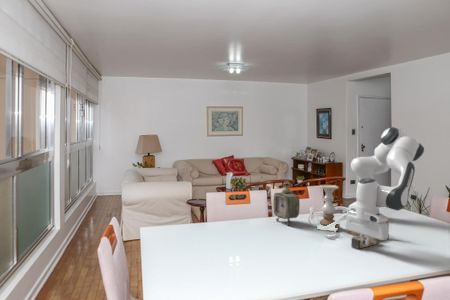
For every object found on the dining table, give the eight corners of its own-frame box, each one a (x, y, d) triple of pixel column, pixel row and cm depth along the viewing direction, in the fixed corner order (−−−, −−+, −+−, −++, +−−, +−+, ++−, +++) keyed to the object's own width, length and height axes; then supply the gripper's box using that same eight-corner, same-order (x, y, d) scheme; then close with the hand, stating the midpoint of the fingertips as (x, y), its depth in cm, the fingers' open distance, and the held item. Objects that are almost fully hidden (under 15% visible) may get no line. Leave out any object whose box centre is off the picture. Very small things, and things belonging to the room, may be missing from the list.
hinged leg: (372, 241, 161) (372, 233, 160) (379, 243, 157) (379, 235, 157) (351, 246, 153) (351, 238, 153) (358, 249, 150) (358, 240, 149)
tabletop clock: (273, 220, 199) (273, 179, 197) (285, 219, 202) (286, 178, 201) (287, 226, 186) (288, 183, 184) (300, 225, 189) (301, 182, 188)
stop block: (352, 244, 157) (352, 237, 157) (359, 242, 159) (359, 235, 159) (356, 246, 155) (357, 238, 154) (363, 244, 157) (363, 237, 157)
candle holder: (316, 229, 181) (317, 186, 180) (320, 224, 191) (321, 183, 190) (336, 232, 176) (337, 188, 175) (339, 227, 186) (341, 185, 185)
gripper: (342, 210, 157) (342, 239, 157) (382, 220, 139) (381, 252, 140) (351, 209, 160) (350, 237, 161) (391, 218, 143) (390, 249, 143)
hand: (365, 244), depth 150 cm, fingers closed
